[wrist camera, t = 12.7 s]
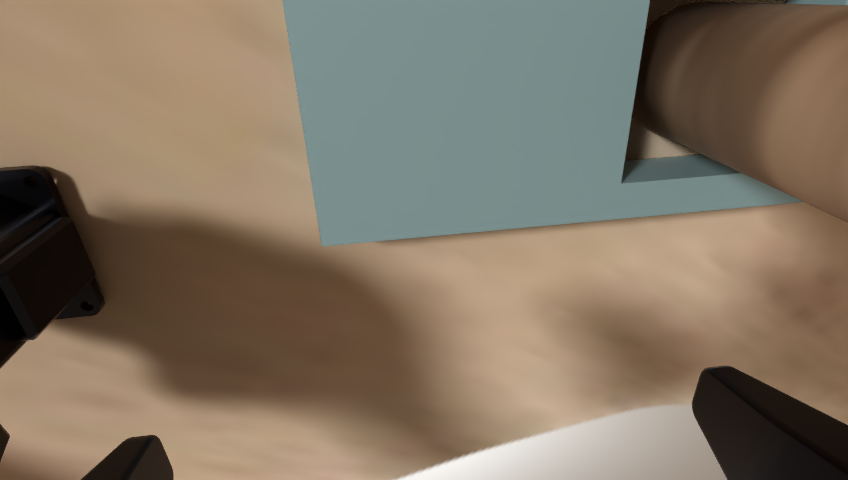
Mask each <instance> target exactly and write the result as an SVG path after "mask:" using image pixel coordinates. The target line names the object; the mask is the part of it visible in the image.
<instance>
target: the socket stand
mask: <svg viewBox="0 0 848 480" xmlns="http://www.w3.org/2000/svg"><path fill="white" fill-rule="evenodd" d="M282 1H283V7H284V13H285V19H286V26H287V32H288V38H289V44H290V51H291V57H292V63H293V69H294V76H295V82H296V88H297V94H298V100H299V107H300V113H301V119H302V125H303V132H304V138H305V144H306V150H307V157H308V163H309V169H310V175H311V181H312V188H313V194H314V200H315V206H316V213H317V219H318V225H319V231H320V238H321V244H322V246H332V245H343V244H353V243H364V242H375V241H386V240H397V239H408V238H418V237H429V236H440V235H451V234H462V233H473V232H484V231H494V230H505V229H516V228H527V227H538V226H549V225H559V224H570V223H581V222H592V221H603V220H614V219H624V218H635V217H646V216H657V215H668V214H679V213H690V212H700V211H711V210H722V209H733V208H744V207H755V206H765V205H776V204H787V203H798V202H803V201H801V200H799V199H797V198H795V197H793V196H790V195H788V194H786V193H784V192H782V191H780V190H777V189H775V188H773V187H771V186H769V185H767V184H765V183H762V182H760V181H758V180H756V179H754V178H752V177H749V176H747V175H745V174H743V173H741V172H739V171H737V170H734V169H732V168H730V167H728V166H726V165H724V164H721V163H719V162H717V161H715V160H713V159H711V158H709V157H706V156H704V155H690V156H677V157H665V158H653V159H640V160H628V161H625V155H626V149H627V143H628V136H629V130H630V124H631V117H632V111H633V105H634V98H635V92H636V86H637V79H638V73H639V67H640V60H641V54H642V48H643V41H644V35H645V29H646V22H647V16H648V10H649V3H650V0H282ZM786 4H821V5H848V0H787V2H786Z"/></svg>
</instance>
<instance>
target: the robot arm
mask: <svg viewBox="0 0 848 480" xmlns="http://www.w3.org/2000/svg"><path fill="white" fill-rule="evenodd" d="M30 176H34V177H35V178H37V180H38V181H39V185H38V184H35V183H34V182H33V181H32V180H31V179H30ZM94 276H95V272H94V269H93V267H92V265H91V262H90V260H89V258H88V255H87V253H86V251H85V248H84V246H83V243H82V241H81V239H80V236H79V234H78V232H77V229H76V227H75V224H74V222H73V221H72V220H71V219H70V218H69V216H68V213H67V211H66V209H65V206H64V204H63V202H62V199H61V197H60V195H59V192H58V190H57V187H56V185H55V183H54V180H53V178H52V176H51V175H50V173H49V172H48V171H47V170H45V169H44V168H42V167H39V166H19V167H5V168H0V368H1V367H2V366H3V365H4V364H5V363H6V362H7V361H8V360H9V359H10V358H11V357H12V356H13V355H14V354H15V353H16V352H17V351H18V350H19V349H20V348H21V347H22V346H23V345H24V344H25V343H26V342H27V341H28V340H34V339H35V338H37V337H38V336H39V335H40V334H41V333H42V332H43V331H44V330H45V328H46V327H47V326H48V325H49V324H50V323H51V322H52V321H53V320H54V319H64V318H74V317H84V316H92V315H96V314H97V313H98V312H99V311H100V310H101V309H102V308H103V306H104V304H105V302H104V298H103V296H102V293H101V291H100V289H99V286H98V284H97V282H96V279H95V277H94ZM86 301H89V302H91V303H92V304H93V305H94V306H93V305H89V304H87V303H86ZM692 409H693V413H694V416H695V418H696V420H697V422H698V424H699V426H700V428H701V430H702V432H703V434H704V436H705V437H706V439H707V441H708V443H709V445H710V447H711V449H712V451H713V453H714V455H715V457H716V459H717V461H718V462H719V464H720V466H721V468H722V470H723V472H724V474H725V476H726V477H727V480H848V425H846V424H844V423H842V422H840V421H838V420H836V419H834V418H832V417H830V416H828V415H826V414H824V413H822V412H821V411H819V410H817V409H815V408H813V407H811V406H809V405H807V404H805V403H803V402H801V401H799V400H797V399H795V398H793V397H791V396H789V395H787V394H785V393H783V392H781V391H779V390H777V389H775V388H773V387H771V386H769V385H767V384H765V383H763V382H761V381H759V380H757V379H755V378H753V377H751V376H749V375H747V374H745V373H743V372H741V371H739V370H737V369H735V368H733V367H730V366H717V367H709V368H705V369H704V370H703V371H702V372H701V374H700V377H699V381H698V384H697V387H696V391H695V394H694V397H693V401H692ZM9 437H10V435H9V434H8V433H7V431H6V430H5V429H4V428H3V427H2V425H1V424H0V461H1V458H2V456H3V453H4V450H5V448H6V445H7V443H8V440H9ZM81 480H173V469H172V466H171V464H170V462H169V459H168V457H167V455H166V452H165V450H164V448H163V445H162V443H161V441H160V439H159V438H158V437H157V436H155V435H147V436H139V437H131V438H128V439H126V440H125V441H123V442H122V443H121V444H120V445H119V446H118V447H117V448H115V449H114V450H113V451H112V452H111V453H110V454H109V455H108V456H107V457H105V458H104V459H103V460H102V461H101V462H100V463H99V464H98V465H97V466H96V467H94V468H93V469H92V470H91V471H90V472H89V473H88V474H87V475H86V476H84V477H83V478H82V479H81Z"/></svg>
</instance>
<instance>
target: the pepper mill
mask: <svg viewBox="0 0 848 480" xmlns="http://www.w3.org/2000/svg"><path fill="white" fill-rule="evenodd" d="M632 115H633V117H634V118H635V119H636V121H637V122H638V123H639V124H641V125H642V126H643V127H645V128H647V129H648V130H650V131H653V132H655V133H657V134H659V135H661V136H663V137H665V138H668V139H670V140H672V141H674V142H676V143H678V144H681V145H683V146H685V147H687V148H689V149H691V150H693V151H696V152H698V153H700V154H702V155H704V156H706V157H709V158H711V159H713V160H715V161H717V162H719V163H721V164H724V165H726V166H728V167H730V168H732V169H734V170H737V171H739V172H741V173H743V174H745V175H747V176H749V177H752V178H754V179H756V180H758V181H760V182H762V183H765V184H767V185H769V186H771V187H773V188H775V189H777V190H780V191H782V192H784V193H786V194H788V195H790V196H793V197H795V198H797V199H799V200H801V201H803V202H805V203H808V204H810V205H812V206H814V207H816V208H818V209H821V210H823V211H825V212H827V213H829V214H831V215H833V216H836V217H838V218H840V219H842V220H844V221H846V222H848V5H821V4H772V3H723V2H696V3H690V4H685V5H682V6H680V7H677V8H675V9H673V10H671V11H669V12H668V13H666V14H665V15H663V16H662V17H660V18H659V19H658V20H657V21H656V22H654V23H653V24H652V25H651V26H650V27H649V28H648V29H647V30H646V32H645V35H644V41H643V48H642V54H641V60H640V67H639V73H638V79H637V86H636V92H635V98H634V105H633V111H632Z"/></svg>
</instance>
